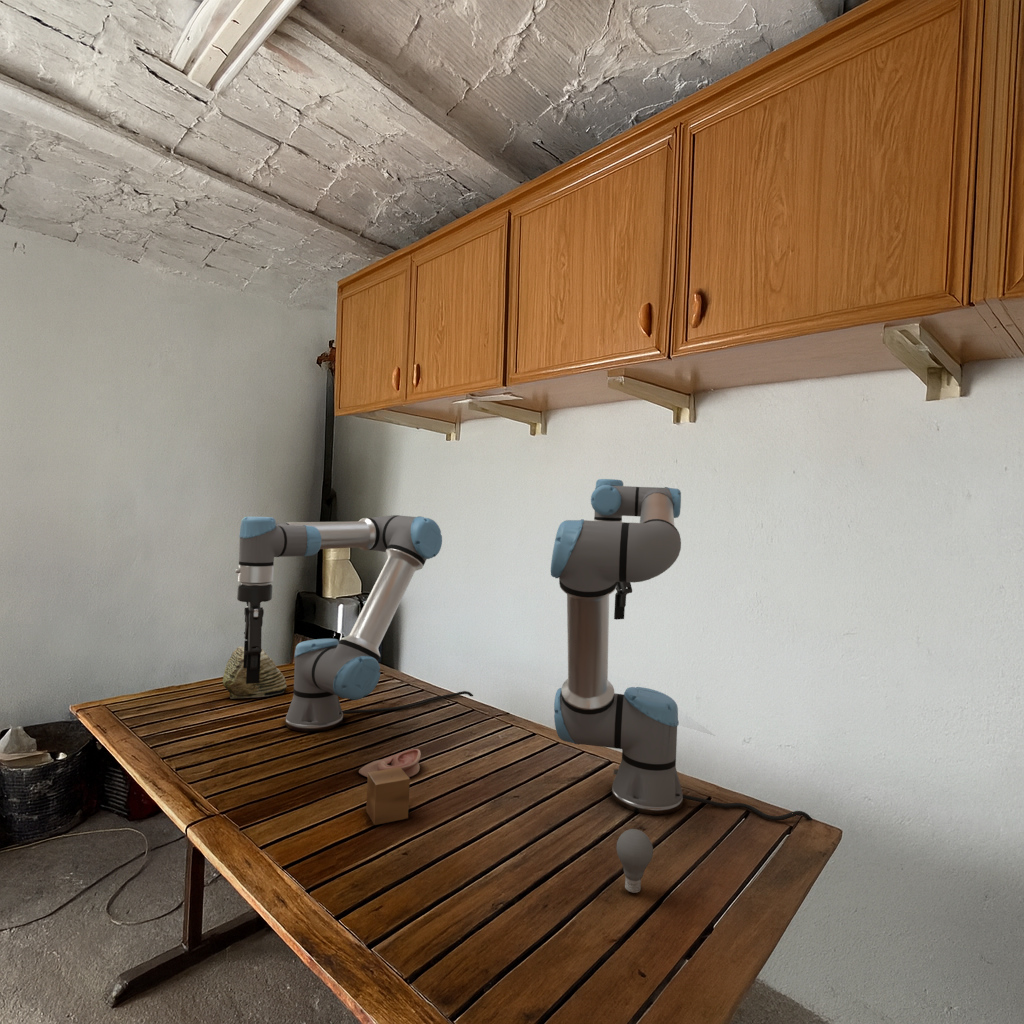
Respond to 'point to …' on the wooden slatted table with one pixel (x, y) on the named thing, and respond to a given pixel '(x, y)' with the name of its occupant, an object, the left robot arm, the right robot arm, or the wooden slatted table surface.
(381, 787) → the light brown block
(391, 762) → the anatomical model
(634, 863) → the light bulb
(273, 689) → the fossil
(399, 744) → the wooden slatted table surface
